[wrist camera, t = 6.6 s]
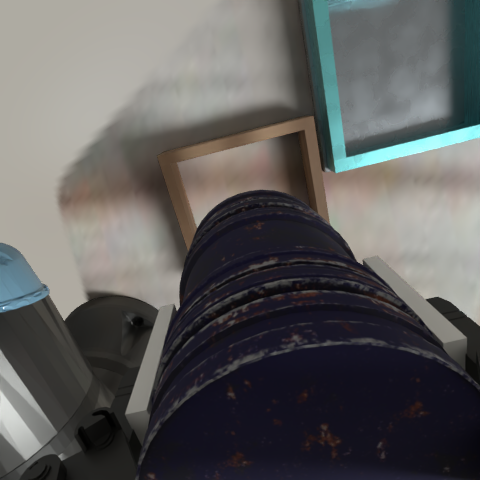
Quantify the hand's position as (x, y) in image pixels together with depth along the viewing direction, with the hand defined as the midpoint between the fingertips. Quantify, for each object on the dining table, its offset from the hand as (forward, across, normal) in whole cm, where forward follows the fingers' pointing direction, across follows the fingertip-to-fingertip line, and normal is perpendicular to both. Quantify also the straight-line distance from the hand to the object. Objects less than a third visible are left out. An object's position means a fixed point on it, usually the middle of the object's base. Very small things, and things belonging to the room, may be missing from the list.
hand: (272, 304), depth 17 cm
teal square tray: (+21, +17, +10) cm, 28 cm away
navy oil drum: (+6, 0, 0) cm, 6 cm away
